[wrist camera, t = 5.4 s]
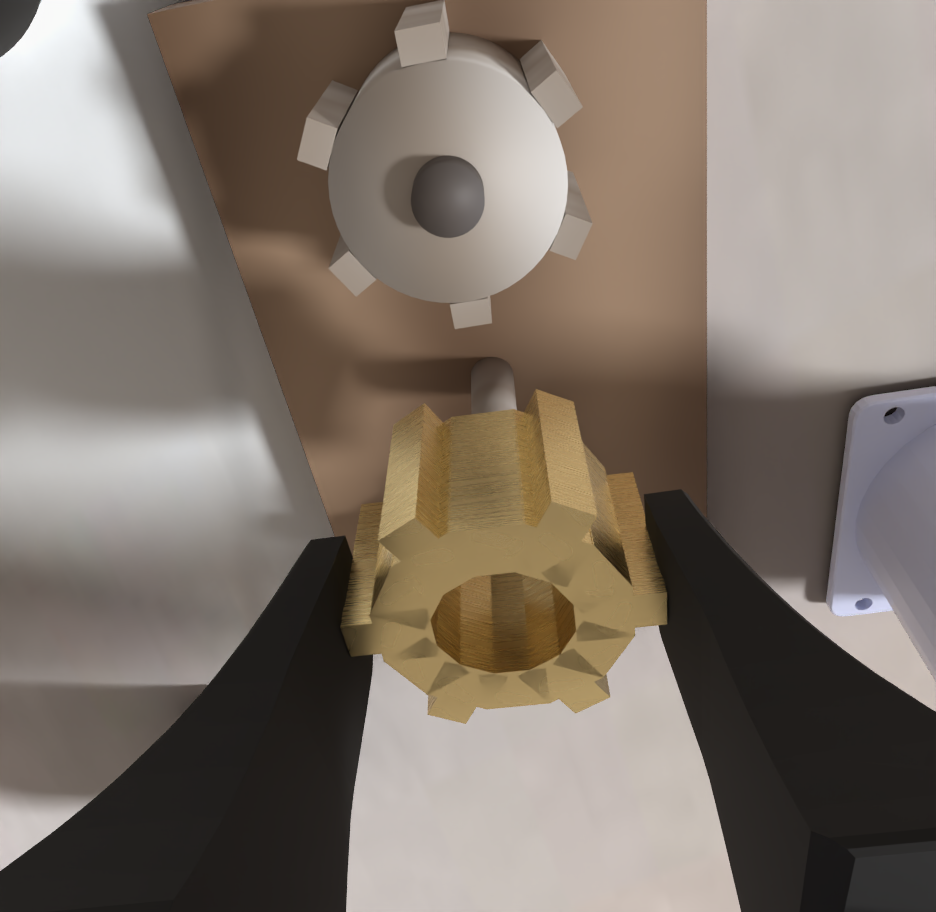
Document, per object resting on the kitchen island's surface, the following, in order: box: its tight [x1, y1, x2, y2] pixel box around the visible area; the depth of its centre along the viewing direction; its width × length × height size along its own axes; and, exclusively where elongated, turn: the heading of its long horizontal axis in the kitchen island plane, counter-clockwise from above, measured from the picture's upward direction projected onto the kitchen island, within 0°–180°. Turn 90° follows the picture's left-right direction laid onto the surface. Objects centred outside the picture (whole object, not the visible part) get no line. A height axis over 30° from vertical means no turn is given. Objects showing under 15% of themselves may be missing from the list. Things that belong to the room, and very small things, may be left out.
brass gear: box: [340, 389, 667, 724], centre depth 14 cm, size 5×5×3 cm
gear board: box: [147, 0, 707, 556], centre depth 18 cm, size 10×17×6 cm, turn 10°
